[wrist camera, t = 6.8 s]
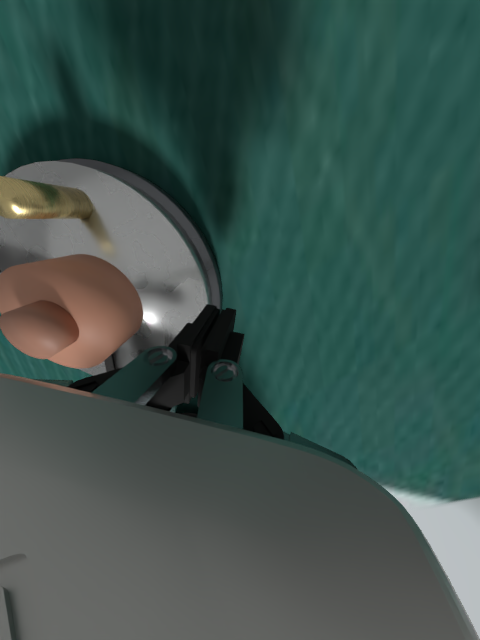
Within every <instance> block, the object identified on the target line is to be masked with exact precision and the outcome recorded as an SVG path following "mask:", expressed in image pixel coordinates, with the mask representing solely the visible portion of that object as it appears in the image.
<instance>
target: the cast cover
mask: <svg viewBox="0 0 480 640" xmlns="http://www.w3.org/2000/svg"><path fill="white" fill-rule="evenodd" d="M0 312H1V314H2V315H1V317H0V328H1V330H2V332H3V334H4V335H5V337H6V338H7V339H8V341H9V342H10V343H11V344H12V345H13V346H15V347H16V348H17V349H19V350H20V351H22V352H23V353H25V354H27V355H29V356H32V357H35V358H39V359H49V360H51V361H53V362H55V363H58V364H61V365H64V366H67V367H72V368H91V367H94V366H97V365H99V364H100V363H102V362H103V361H104V360H105V359H107V358H108V357H109V356H110V355H111V354H112V353H113V352H115V351H116V350H117V349H118V348H119V347H120V346H122V345H123V344H124V343H125V342H126V341H127V340H128V339H130V338H131V337H132V336H133V335H134V334H135V333H136V332H137V331H138V330H139V328H140V326H141V324H142V320H143V307H142V303H141V300H140V297H139V295H138V292H137V291H136V289H135V287H134V286H133V284H132V283H131V282H130V280H129V279H128V278H127V277H126V276H125V275H124V274H123V273H122V272H121V271H120V270H119V269H118V268H116V267H115V266H114V265H112V264H110V263H109V262H107V261H105V260H103V259H101V258H98V257H96V256H92V255H87V254H74V255H69V256H64V257H58V258H53V259H47V260H42V261H36V262H31V263H25V264H20V265H15V266H11V267H9V268H7V269H6V270H4V271H3V272H2V273H1V274H0Z"/></svg>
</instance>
